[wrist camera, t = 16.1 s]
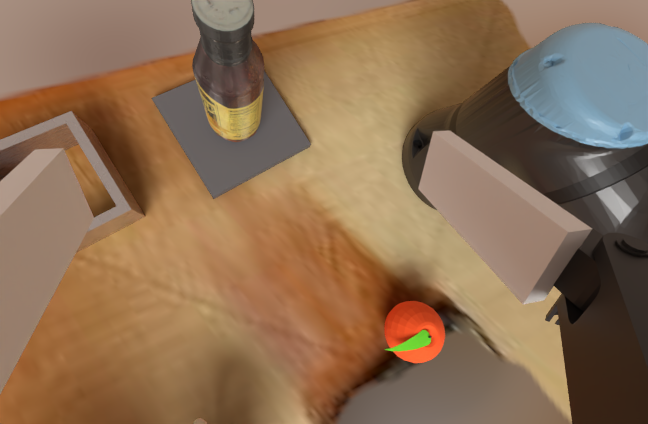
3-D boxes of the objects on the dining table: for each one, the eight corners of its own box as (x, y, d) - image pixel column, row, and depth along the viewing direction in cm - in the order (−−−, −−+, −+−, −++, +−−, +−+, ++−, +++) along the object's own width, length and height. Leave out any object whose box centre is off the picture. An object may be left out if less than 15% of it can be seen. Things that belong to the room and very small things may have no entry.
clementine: (380, 368, 40) (407, 388, 34) (360, 315, 41) (381, 324, 34) (433, 340, 42) (468, 353, 36) (412, 289, 43) (443, 293, 36)
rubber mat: (254, 59, 44) (254, 54, 43) (309, 146, 43) (310, 144, 42) (154, 102, 40) (151, 98, 39) (213, 198, 39) (212, 197, 38)
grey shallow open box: (91, 129, 38) (71, 110, 33) (145, 216, 37) (131, 209, 33) (-13, 173, 35) (-50, 160, 30) (44, 269, 34) (14, 269, 30)
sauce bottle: (207, 97, 40) (168, -55, 21) (259, 98, 42) (266, -44, 23) (210, 147, 39) (171, 36, 20) (262, 147, 41) (272, 42, 22)
